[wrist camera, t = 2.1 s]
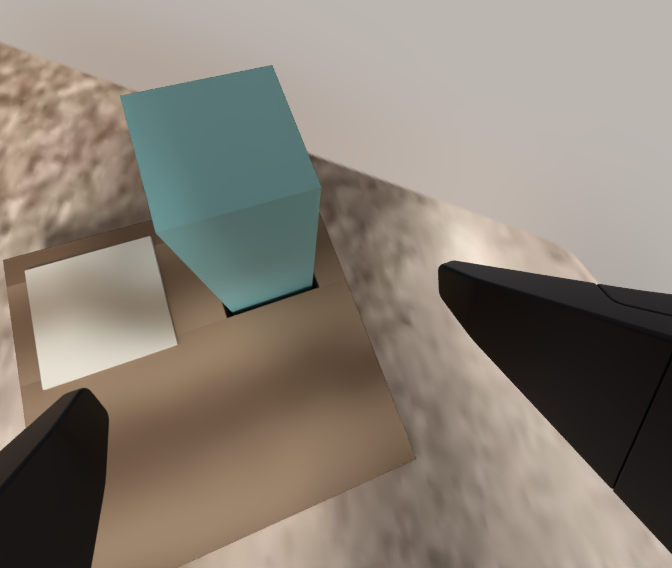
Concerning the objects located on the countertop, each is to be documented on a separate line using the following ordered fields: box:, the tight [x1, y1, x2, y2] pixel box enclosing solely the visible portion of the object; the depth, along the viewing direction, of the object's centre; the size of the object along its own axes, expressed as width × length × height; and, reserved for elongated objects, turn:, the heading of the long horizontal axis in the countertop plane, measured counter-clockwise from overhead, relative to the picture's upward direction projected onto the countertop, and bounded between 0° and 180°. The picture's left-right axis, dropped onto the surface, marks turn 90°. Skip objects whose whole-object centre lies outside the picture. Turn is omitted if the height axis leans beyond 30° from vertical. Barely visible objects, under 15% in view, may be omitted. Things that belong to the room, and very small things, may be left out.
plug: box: [120, 65, 321, 315], centre depth 15 cm, size 4×4×12 cm
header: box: [3, 213, 416, 568], centre depth 18 cm, size 16×16×3 cm
